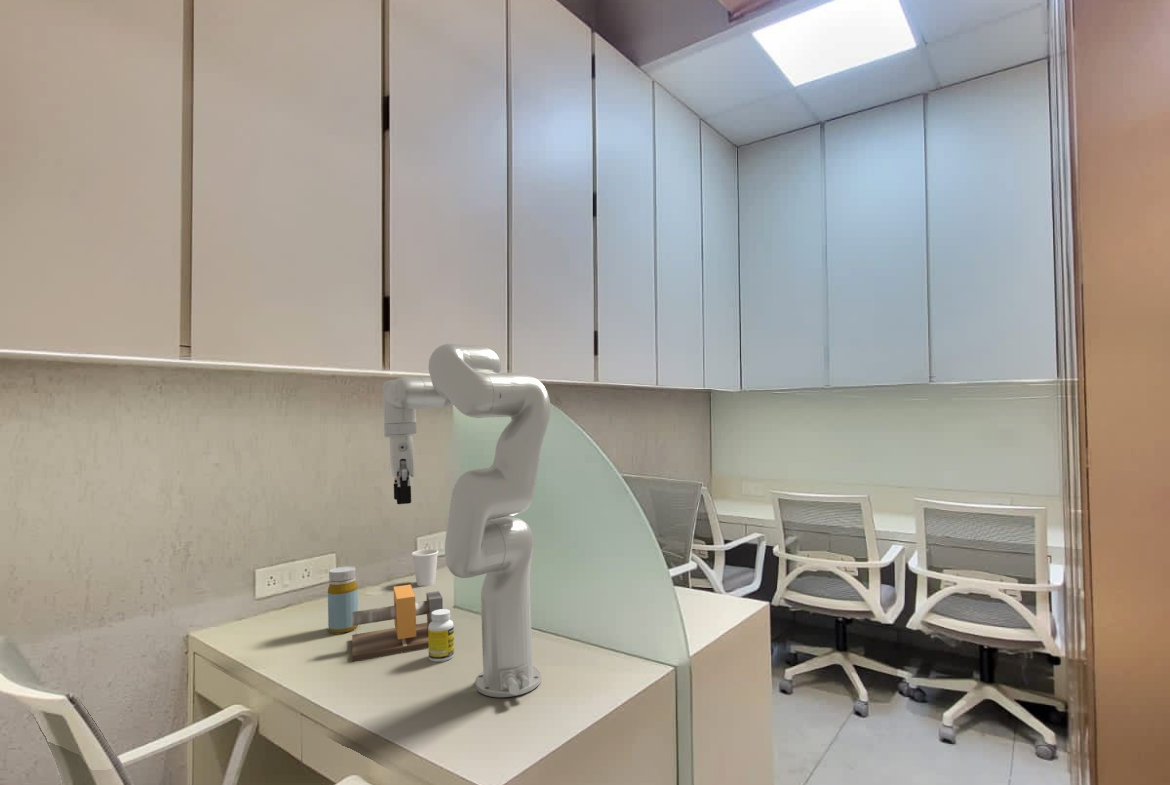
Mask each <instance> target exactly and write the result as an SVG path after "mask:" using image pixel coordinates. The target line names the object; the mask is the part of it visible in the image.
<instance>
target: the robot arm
mask: <svg viewBox="0 0 1170 785" xmlns="http://www.w3.org/2000/svg"><path fill="white" fill-rule="evenodd" d="M501 370H502V361H501V360H500V357H499V355H498V354H497V353H496V352H495V351H494V350H492V349H490V348H488V346H487V347H486V346H482V345H473V344H472V345H471V344H459V343H458V344H457V343H446V344H442V345H439V346H438V347H436V348H435V349H434V351H433V352H432V353H431V355H430V357H429V360H428V373H429V376H430V377H429V376H414V377H413V376H402V377H398V378H396V379H394V380H393V379H392V380H387V381H386V382H384V384H383V386H382V387H383V388H382V394H383V395H382V396H383V399H382V400H383V401H382V402H383V432H384V436H383V437H384V438H389V456H390V457H389V458H390V460H389V461H390V470H391V475H392V477H393V478H394V482H393V499H394V500H396V504H397V505H404V504H405V505H406V504H407V505H409V504H411V503H412V486H411V480H410V477H411V478H415V476H416V469H415V468H416V467H415V453H414V452H415V451H414V450H415V447H414V440H413V439H414V438H413V437H417V434H418V433H417V409H418V410H419V409H421V410H422V409H443V408H448V407H451V406H454V408H456V409H457V410H458V411H459V412H460V413H461V414H463V415H464V416H466V417H469V418H473V419H474V418H475V419H481V418H486V419H488V418H506V417H507V418H508V417H510V418H511V419H510V422H509V423H508V424H507V425H506V426H505V428H503V430H502V431H501V433H500V435H499V438H498V439H497V442H496V446H495V453H494V458H493V461H492V462H493V463H492V464H491V465H490V466H489V467H485V468H484V467H483V468H477V469H471V470H468V471H466V472H464V473H463V474H462V475H460V476H459V478H458V479H457V480H456V482H455V484H454V486H453V488H452V491H451V492H452V493H451V498H450V505H449V510H448V511H449V512H448V517H447V518H448V519H447V527H446V533H445V542H444V558H445V563H446V566H447V568H448V570H449V572H451V574H452V575H453V576H455V577H458V578H460V579H467V578H474V577H477V576H478V577H479V576H481V575H485V577H484V580H483V583H482V585H481V591H480V608H481V609H480V611H481V612H480V613H481V614H480V616H481V617H480V618H481V640H482V641H481V644H482V645H481V647H482V669H483V670H482V671H481V672H480V673H479V674H478V675H477V676H476V677H475V682H474V683H475V684H474V686H475V689H476V691H477V692H479V693H480V694H482V695H484V696H488V697H493V698H511V697H512V698H513V697H516V696H517V697H518V696H521V695H524V694H526V693H529V692H531V691H533V690H535V689H536V688H537V687H539V685H540V683H541V682H542V674H541V670H539V669H538V668H537V667H535V666H533V641H532V638H533V637H532V616H531V615H532V614H531V610H532V608H531V567H532V558H533V552H534V536H533V535H534V534H533V531H532V529H531V527H530V526H529V524H528V523H527V522H525V521H524V520H523V519H521V518H518V517H514V516H515V515H519V514H522V513H524V512H526V511H527V510H528V509H529V508H530V507H531V505H532V503H533V498H534V494H535V491H536V482H537V476H538V470H539V465H540V464H539V463H540V456H541V450H542V446H543V442H544V439H545V435H546V432H547V429H548V426H549V422H550V417H551V400H550V395H549V393H548V390H547V389H546V387H545V385H544V384H543V382H541V381H540V380H539V379H538V378H536V377H534V376H531V375H528V374H523V373H519V372H518V373H516V372H515V373H514V372H501ZM512 516H513V517H512Z"/></svg>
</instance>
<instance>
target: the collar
mask: <svg viewBox="0 0 1170 785" xmlns="http://www.w3.org/2000/svg"><path fill="white" fill-rule="evenodd" d="M415 602H416V595H415V593H414V590H413V586H412V584H405V585H398V586H397V585H396V586H393V606H395V605H396V619H393V621H394V628H396V633H397V637H398V639H404V638H410V637H416V624H417V616H416V606H415Z"/></svg>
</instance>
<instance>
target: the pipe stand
mask: <svg viewBox="0 0 1170 785" xmlns="http://www.w3.org/2000/svg"><path fill="white" fill-rule="evenodd" d="M425 595H426V600H424V601H423V600H422V601H415V606H416V617H417V616H423V615H426V621H427V622H422V623H421V622H420V623H416V637H410V638H404V639H398V637H397V633H396V628H395V627H392V628H391V627H390V628H385V629H381V630H379V629H378V630H374V631H369V632H368V631H365V632H361V633H355V634H351V637H352V638H351V642H352V643H351V644H352V645H351V646H352V648H351V650H352V652H351V653H352V654H351V655H352V662H357V661H363V660H369V659H374V657H375V658H379V656H381V657H385V656H391V654H392V655H396V654H395V653H397V654H402V653H401V652H403V653H408V652H414V651H418V649H419V650H423V649H424V648H425V649H429V643H428V626H429V624H430V623H431V622H432V621H433V620H432V618H431V613H432V612H433V611H435V610H439V609H444V605H443V604H444V603H443V601H444V600H443V596H442V594H441V593H440V591H439V590H437V591H431V592H426V594H425ZM394 619H396V605H395V606H394V605H391V606H390V605H389V606H382V607H377V608H370V609H364V610H358V611H356V612H352V626H355V625H358V626H360V625H366V624H373V623H379V622H386V621H392V620H393V621H394ZM413 650H414V651H413ZM407 651H408V652H407Z"/></svg>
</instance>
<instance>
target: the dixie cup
mask: <svg viewBox="0 0 1170 785" xmlns="http://www.w3.org/2000/svg"><path fill="white" fill-rule="evenodd" d="M438 554H439V550H438V549H433V548H430V549H429V548H428V549H426V548H425V549H419V550H415V551H413V552H411V556H412V562H413V568H414V576H415V581H416V586H418V587H427V586H432V585H435V584H436V577H437V567H438V566H437V565H438Z"/></svg>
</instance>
